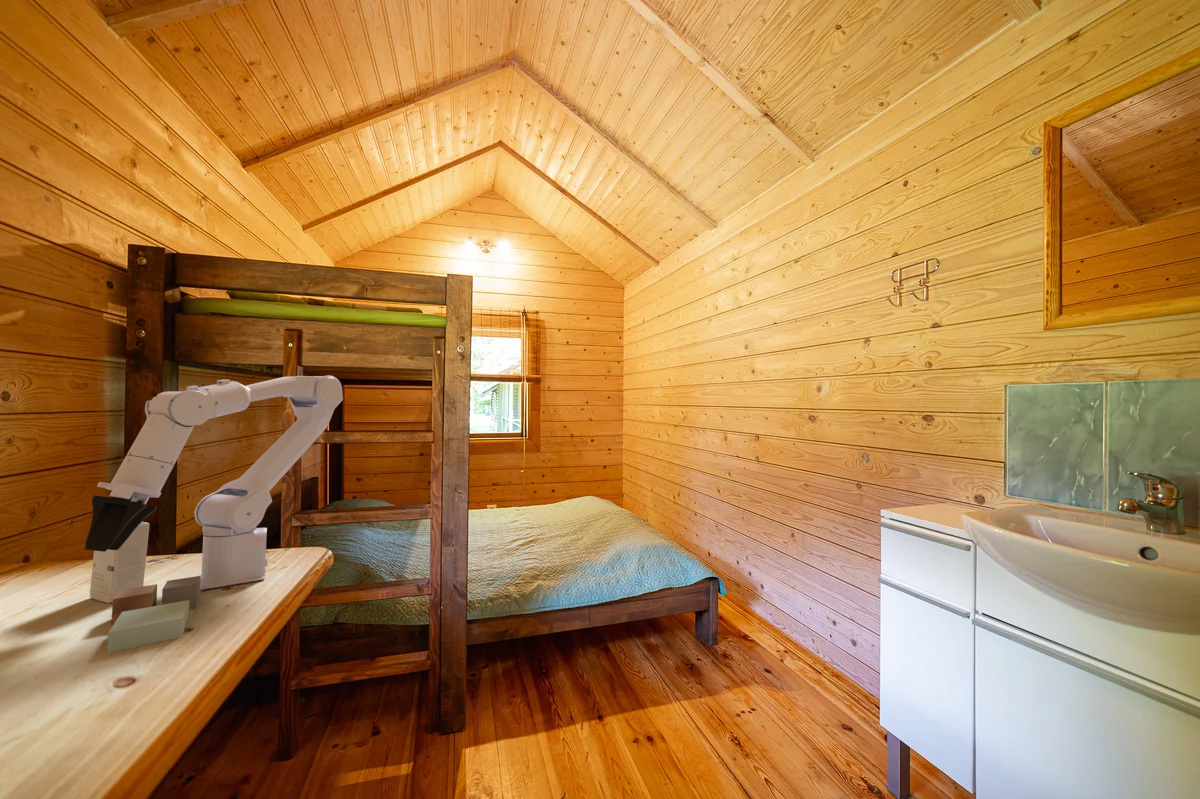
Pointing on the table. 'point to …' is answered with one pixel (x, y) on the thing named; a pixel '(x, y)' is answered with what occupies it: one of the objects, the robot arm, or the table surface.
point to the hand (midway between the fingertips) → (101, 550)
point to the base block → (148, 626)
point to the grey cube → (182, 591)
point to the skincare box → (120, 566)
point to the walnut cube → (133, 600)
